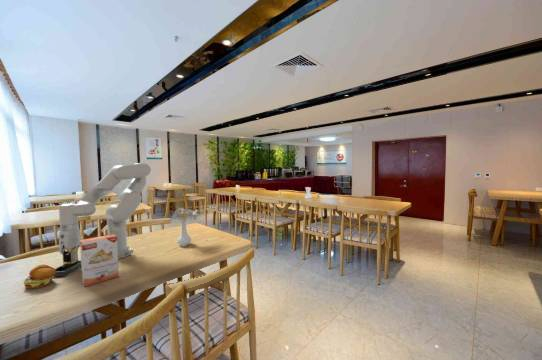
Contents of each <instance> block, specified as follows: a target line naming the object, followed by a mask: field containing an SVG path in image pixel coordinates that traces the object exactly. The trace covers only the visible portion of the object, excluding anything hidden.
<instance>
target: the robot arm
mask: <svg viewBox="0 0 542 360" xmlns="http://www.w3.org/2000/svg"><path fill="white" fill-rule="evenodd" d="M151 169H152V168H151V166H150V165H149V164H148V163H145V162H136V163H133V164H123V165H122V164H121V165H119V164H118V165H117V164H116V165H114V166H113V167H111V168H110V169H109V170H108V172H106V174H105V175H104V176H103V177H102V178H101V179H100V180H99V181H98V182H97V183H96V184H95V185H94V186H93V187H92V188H91V189H90V190H88V191H87V192H86V193H84V194H85V195H83V196H82V197H81V199H79V201H78V202H77V203H62V204H60V205H59V207H58V211H59V212H58V213H59V217H58V218H59V233H58V234H59V235H58V236H59V237H58V247H59V248H58V251H57V252H58V253H59V254H61V255H62V263H63V262H70V254H69V251H70V249H72V248H78V249H79V248H80V240H82V233H81V229H80V227H79V217H90V216H92V215H94V214H95V213H96V211H97V207H96V203H98V202H99V200H101V199H103V197H106V196H108V195H109V194H111V193H112V192H113V191H114V190H115V189H116V188H117V187H118V186H119V184H120V183H121V182H122V181H124V180H130V182H129V183H128V185H127V186H126V187H125V188H124V190H122V192H121V193H120V194H119V197H118V200H119V203H118V204H115V203H114V204H111V205H110V206H108V207H107V209H106V210H105V219H106V226H107V235H112V234H114V235H116V236H117V246H118V260H120V259H123V258H126V257H129V256H130V255H131V254H133V253H134V248H130V246H128V240H127V239H128V238H127V237H128V235H127V221H128V220H129V219H130V218H131V216H132V215H133V214H134V213H135V211H136V210H137V209H138V208H139V206H140V205H141V203H142V199H143V197H142V195H141V194H142V192H143V190H144V189H145V186H146V185H147V176H149V175H150V173H151V171H152V170H151ZM65 250H67V252H66V251H65Z"/></svg>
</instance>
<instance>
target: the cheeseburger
mask: <svg viewBox="0 0 542 360" xmlns="http://www.w3.org/2000/svg"><path fill="white" fill-rule="evenodd" d="M55 269H56V268H54V267H52V266H50V265H48V264H40V265H36V266H35V267H33V268H32V269H31V270H29V273H28V274H29V275H28V276H27V277H26V278H25V279H24V280H23V285H24V287H25V288H27V289H30V290H31V289H32V290H33V289H38V288H42V287H44V286H48V285H49V284H51V283H52V281H53V279H55V277H53V276H55V274H56V270H55Z"/></svg>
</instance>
